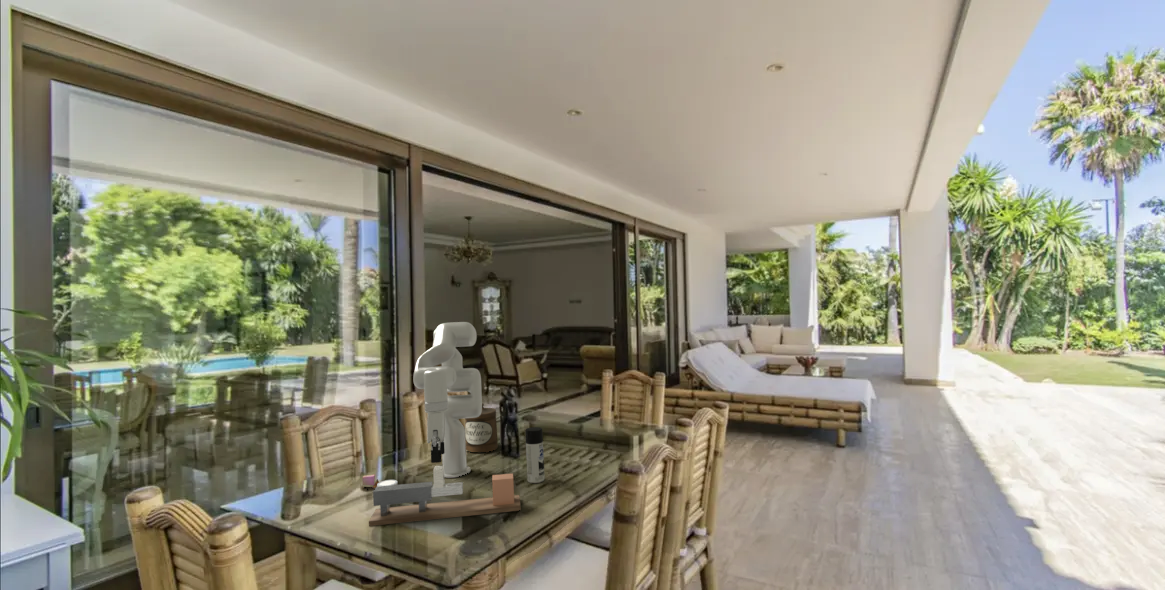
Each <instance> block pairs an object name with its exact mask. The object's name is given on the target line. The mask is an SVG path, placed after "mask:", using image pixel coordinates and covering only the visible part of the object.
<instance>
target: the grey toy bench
mask: <svg viewBox="0 0 1165 590" xmlns="http://www.w3.org/2000/svg"><path fill="white" fill-rule="evenodd" d="M432 485H433V481H424V482H413V483H412V482H411V483H401V484H397V485H390V486H379V487H376V488H375V490H374V489H373V491H372V500H373V501H372V502H373V503H372V505H373V507H376V506H377V507H378V506H379V507H380V511H381V516H387V515H388V513H389V511H390V507H391V505H389V504H392V505H398V504H399V505H400V504H408V503H409V504H411V503H418V505H419V513H420V512H426V509H427V504H428V502H429V501H432V498H433V497H431V486H432Z"/></svg>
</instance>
